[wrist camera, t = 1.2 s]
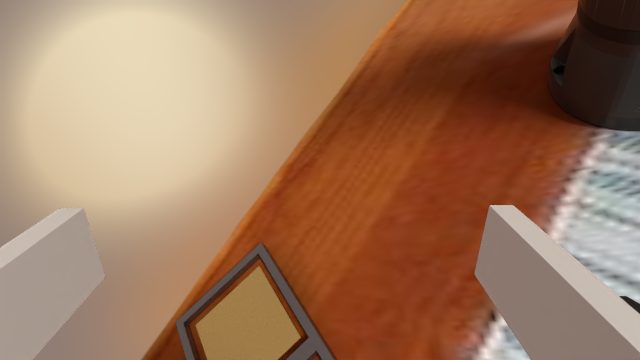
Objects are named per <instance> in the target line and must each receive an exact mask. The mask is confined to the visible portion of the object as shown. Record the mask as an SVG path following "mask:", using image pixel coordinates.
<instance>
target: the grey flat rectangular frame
mask: <svg viewBox="0 0 640 360" xmlns="http://www.w3.org/2000/svg"><path fill="white" fill-rule="evenodd" d="M260 258H262V260H263V262H264V263H265V265H266V267H267V268H268V270H269V272H270V273H271V275H272V277H273V278H274V280H275V282H276V283H277V285H278V287H279V288H280V290H281V292H282V293H283V295H284V297H285V299H286V300H287V302H288V304H289V305H290V307H291V309H292V310H293V312H294V314H295V315H296V317H297V319H298V320H299V322H300V324H301V325H302V327H303V329H304V330H305V332H306V334H307V335H308V337H309V338H308V339H307V340H306V341H305V342H304V343H303V344H302V345H301V346H300V347H299V348H298V349H296V350H295V351H294V352H293V353H292V354H291V355H290V356H289V357H288V358H287V359H286V360H312V359H313V358H314V357H316V356H317V355H318V354H319V355H320V357H321V359H322V360H337V358H336V357H335V355H334V354H333V352H332V351H331V349H330V347H329V346H328V344H327V343H326V341H325V339H324V338H323V336H322V335H321V333H320V332H319V330H318V328H317V327H316V325H315V324H314V322H313V320H312V319H311V317H310V316H309V314H308V313H307V311H306V309H305V308H304V306H303V305H302V303H301V301H300V300H299V298H298V297H297V295H296V294H295V292H294V290H293V289H292V287H291V286H290V284H289V282H288V281H287V279H286V278H285V276H284V275H283V273H282V271H281V270H280V268H279V267H278V265H277V263H276V262H275V260H274V259H273V257H272V256H271V254H270V252H269V251H268V249H267V248H266V246H265V245H264V244H262V243H260V244H259V245H258V246H257V247H256V248H255V249H254V250H252V251H251V252H250V253H249V254H248V255H247V256H246V257H245V258H244V259H243V260H242V261H241V262H240V263H238V264H237V265H236V266H235V267H234V268H233V269H232V270H231V271H230V272H229V273H228V274H227V275H226V276H225V277H223V278H222V279H221V280H220V281H219V282H218V283H217V284H216V285H215V286H214V287H213V288H212V289H211V290H209V291H208V292H207V293H206V294H205V295H204V296H203V297H202V298H201V299H200V300H199V301H198V302H197V303H196V304H194V305H193V306H192V307H191V308H190V309H189V310H188V311H187V312H186V313H185V314H184V315H183V316H182V317H180V318H179V319H178V320H177V321H176V326H177V329H178V333H179V336H180V339H181V343H182V346H183V350H184V353H185V357H186V360H200V358H199V354H198V351H197V348H196V345H195V342H194V339H193V336H192V333H191V330H190V327H189V324H190V323H191V322H192V321H193V320H194V319H195V318H196V317H197V316H199V315H200V314H201V313H202V312H203V311H204V310H205V309H206V308H207V307H208V306H209V305H210V304H211V303H212V302H214V301H215V300H216V299H217V298H218V297H219V296H220V295H221V294H222V293H223V292H224V291H225V290H226V289H227V288H229V287H230V286H231V285H232V284H233V283H234V282H235V281H236V280H237V279H238V278H239V277H240V276H241V275H242V274H244V273H245V272H246V271H247V270H248V269H249V268H250V267H251V266H252V265H253V264H254V263H255V262H256V261H257V260H259V259H260ZM196 328H197V331H198V334H199V337H200V340H201V343H202V345H203V348H204V351H205V354H206V357H207V360H279V359H280V358H281V357H282V356H283V355H284V354H285V353H286V352H287V351H288V350H289V349H290V348H291V347H293V346H294V345H295V344H296V343H297V342H298V341H299V340H300V339H301V336H300V334H299V332H298V331H297V329H296V327H295V325H294V324H293V322H292V320H291V319H290V317H289V315H288V313H287V312H286V310H285V308H284V307H283V305H282V303H281V301H280V300H279V298H278V296H277V294H276V293H275V291H274V289H273V288H272V286H271V284H270V282H269V281H268V279H267V277H266V275H265V274H264V272H263V270H262V269H261V267H260V266H258V267H257V268H256V269H255V270H254V271H253V272H252V273H251V274H250V275H249V276H248V277H247V278H246V279H244V280H243V281H242V282H241V283H240V284H239V285H238V286H237V287H236V288H235V289H234V290H233V291H232V292H231V293H230V294H228V295H227V296H226V297H225V298H224V299H223V300H222V301H221V302H220V303H219V304H218V305H217V306H216V307H215V308H213V309H212V310H211V311H210V312H209V313H208V314H207V315H206V316H205V317H204V318H203V319H202V320H201V321H200V322H198V323H197V324H196Z"/></svg>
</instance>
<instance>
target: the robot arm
mask: <svg viewBox="0 0 640 360" xmlns="http://www.w3.org/2000/svg"><path fill="white" fill-rule="evenodd" d="M548 88H549V91H550V93H551V95H552V97H553V99H554V100H555V102H556V103H557V104H558V105H559V106H560V107H561V108H562V109H564V110H565V111H566V112H568V113H569V114H571V115H573V116H574V117H576V118H578V119H581V120H583V121H586V122H588V123H591V124H595V125H598V126H602V127H607V128H613V129H622V130H640V0H579V1H578V7H577V12H576V14H575V16H574V18H573V19H572V21H571V23H570V24H569V26H568V28H567V30H566V31H565V33H564V35H563V36H562V38H561V40H560V42H559V43H558V45H557V47H556V49H555V50H554V52H553V54H552V57H551V60H550V64H549V73H548ZM475 276H476V277H477V279H478V280H479V282H480V283H481V285H482V286H483V288H484V289H485V291H486V292H487V294H488V295H489V297H490V298H491V300H492V302H493V303H494V305H495V306H496V308H497V309H498V311H499V312H500V314H501V315H502V317H503V318H504V320H505V321H506V323H507V324H508V326H509V327H510V329H511V330H512V332H513V333H514V335H515V336H516V338H517V339H518V341H519V342H520V344H521V345H522V347H523V348H524V350H525V351H526V353H527V354H528V356H529V357H530V359H531V360H640V304H639V303H637V302H635V301H634V300H632V299H630V298H628V297H627V296H618V295H617V294H616V293H615V292H613V291H612V290H611V289H610V288H609V287H608V286H606V285H605V284H604V283H603V282H602V281H601V280H599V279H598V278H597V277H596V276H595V275H594V274H592V273H591V272H590V271H589V270H588V269H587V268H585V267H584V266H583V265H582V264H581V263H580V262H578V261H577V260H576V259H575V258H574V257H573V256H572V255H570V254H569V253H568V252H567V251H566V250H565V249H563V248H562V247H561V246H560V245H559V244H558V243H556V242H555V241H554V240H553V239H552V238H551V237H549V236H548V235H547V234H546V233H545V232H544V231H542V230H541V229H540V228H539V227H538V226H537V225H535V224H534V223H533V222H532V221H531V220H530V219H528V218H527V217H526V216H525V215H524V214H523V213H521V212H520V211H519V210H518V209H517V208H516V207H515V206H513V205H489V210H488V215H487V219H486V224H485V228H484V233H483V237H482V242H481V246H480V251H479V256H478V260H477V265H476V269H475ZM104 278H105V274H104V270H103V268H102V264H101V261H100V258H99V255H98V252H97V249H96V245H95V242H94V239H93V236H92V233H91V230H90V227H89V223H88V221H87V218H86V214H85V211H84V209H83V208H60V209H58V210H57V211H55V212H54V213H52V214H51V215H49V216H48V217H46V218H45V219H43V220H42V221H40V222H38V223H37V224H36V225H34V226H32V227H31V228H29V229H28V230H26V231H25V232H23V233H22V234H20V235H19V236H17V237H16V238H14V239H13V240H11V241H10V242H8V243H7V244H5V245H4V246H2V247H1V248H0V360H32V359H33V358H34V357H35V356H36V355H37V354H38V353H39V352H40V350H41V349H42V348H43V347H44V346H45V345H46V344H47V343H48V341H49V340H50V339H51V338H52V337H53V336H54V335H55V333H56V332H57V331H58V330H59V329H60V328H61V327H62V326H63V324H64V323H65V322H66V321H67V320H68V319H69V318H70V317H71V315H72V314H73V313H74V312H75V311H76V310H77V309H78V307H79V306H80V305H81V304H82V303H83V302H84V301H85V299H87V297H88V296H89V295H90V294H91V293H92V292H93V291H94V289H95V288H96V287H97V286H98V285H99V284H100V283H101V282H102V280H103V279H104Z"/></svg>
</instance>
